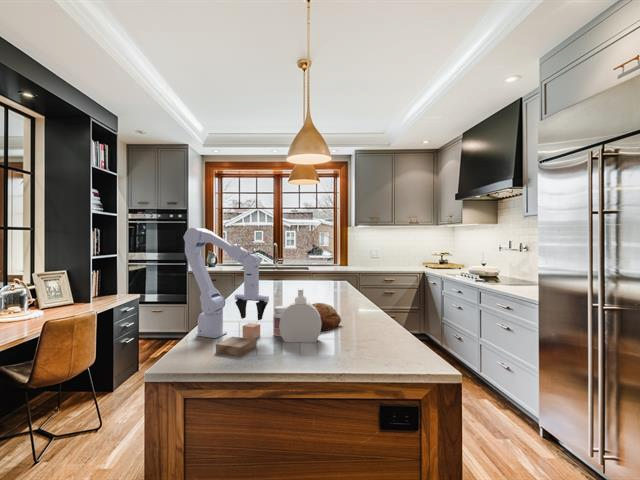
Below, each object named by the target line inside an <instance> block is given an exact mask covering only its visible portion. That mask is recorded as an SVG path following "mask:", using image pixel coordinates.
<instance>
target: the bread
mask: <svg viewBox="0 0 640 480" xmlns="http://www.w3.org/2000/svg"><path fill="white" fill-rule="evenodd" d="M311 304H312V305H313V306H314V307H316V309H317V311H318V312H319V314H320V318H321V331H320V332H324V331H325V332H326V331H329V330H331V329H334V328H336V327H337V326H339V325H340V324H341V322H342V317H341V316H340V315H339V314H338V313H337V310H336V309H335V308H334V306H332V305H330V304H327V303H324V302H314V303H311Z"/></svg>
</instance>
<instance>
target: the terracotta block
mask: <svg viewBox="0 0 640 480" xmlns="http://www.w3.org/2000/svg"><path fill="white" fill-rule="evenodd" d="M260 337H261V324H260V323H253V322H252V323H251V322H249V323H247V324H244V325H242V338H248V339H256V340H257V339H259V338H260Z"/></svg>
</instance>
